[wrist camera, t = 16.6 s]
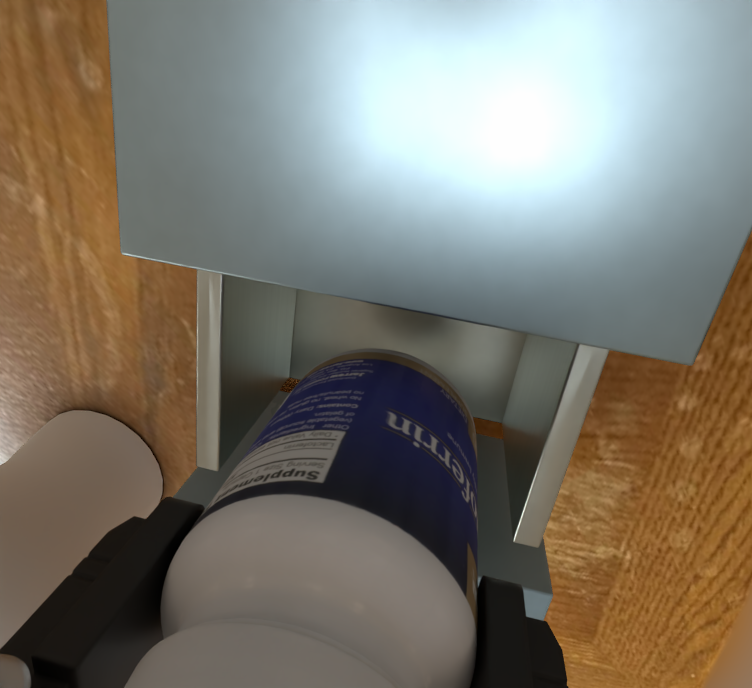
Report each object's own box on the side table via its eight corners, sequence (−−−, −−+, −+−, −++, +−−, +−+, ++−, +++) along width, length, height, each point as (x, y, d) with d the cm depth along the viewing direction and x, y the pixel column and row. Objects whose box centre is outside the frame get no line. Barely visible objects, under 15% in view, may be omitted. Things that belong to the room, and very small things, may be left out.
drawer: (492, 556, 26) (500, 732, 18) (256, 499, 27) (171, 641, 20) (637, 94, 18) (762, 66, 10) (284, 43, 19) (156, -16, 11)
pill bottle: (510, 474, 15) (558, 971, 6) (347, 526, 17) (203, 969, 8) (421, 307, 14) (316, 641, 5) (254, 385, 16) (-48, 731, 7)
